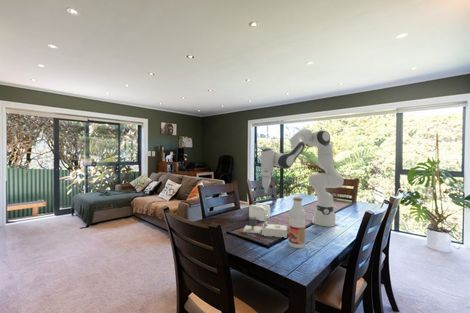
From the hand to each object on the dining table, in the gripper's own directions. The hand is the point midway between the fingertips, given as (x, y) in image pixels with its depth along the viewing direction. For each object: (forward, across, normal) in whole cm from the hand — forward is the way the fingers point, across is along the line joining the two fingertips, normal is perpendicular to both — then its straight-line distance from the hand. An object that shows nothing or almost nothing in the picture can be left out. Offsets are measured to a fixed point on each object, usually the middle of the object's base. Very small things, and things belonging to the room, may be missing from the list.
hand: (266, 191), depth 156 cm
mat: (+27, +5, -9) cm, 29 cm away
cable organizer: (+29, -22, -7) cm, 37 cm away
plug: (+26, +5, -7) cm, 28 cm away
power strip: (+26, +9, +6) cm, 29 cm away
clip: (+22, +4, 0) cm, 22 cm away
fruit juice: (+26, +23, +20) cm, 40 cm away
